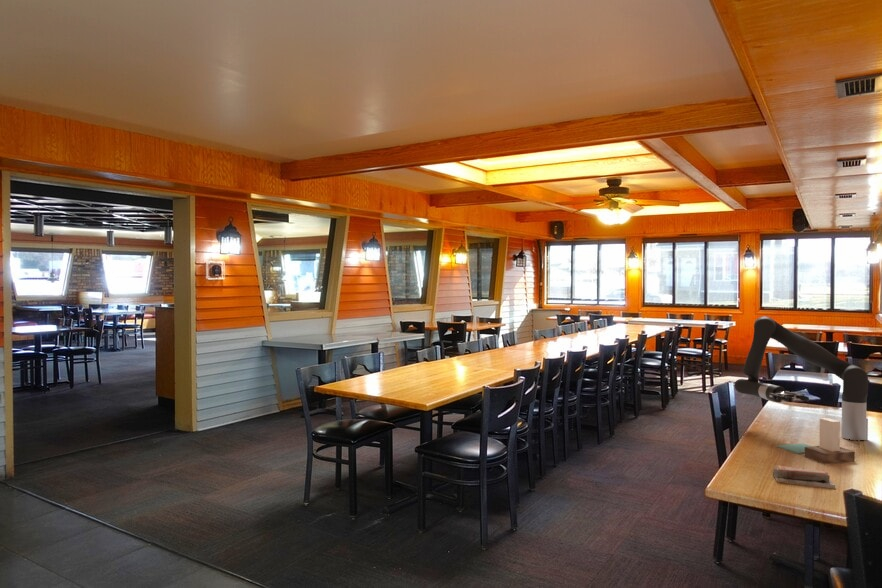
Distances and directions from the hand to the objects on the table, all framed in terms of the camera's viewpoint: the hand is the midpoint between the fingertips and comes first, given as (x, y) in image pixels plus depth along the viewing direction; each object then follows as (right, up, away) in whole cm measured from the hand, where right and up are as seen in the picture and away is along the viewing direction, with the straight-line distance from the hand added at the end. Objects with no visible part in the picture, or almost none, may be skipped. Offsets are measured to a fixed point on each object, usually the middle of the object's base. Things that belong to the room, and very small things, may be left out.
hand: (800, 399), depth 255 cm
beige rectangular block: (-2, -16, -21) cm, 27 cm away
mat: (-5, -20, -8) cm, 22 cm away
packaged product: (-28, -21, -47) cm, 59 cm away
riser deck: (-2, -20, -21) cm, 29 cm away
